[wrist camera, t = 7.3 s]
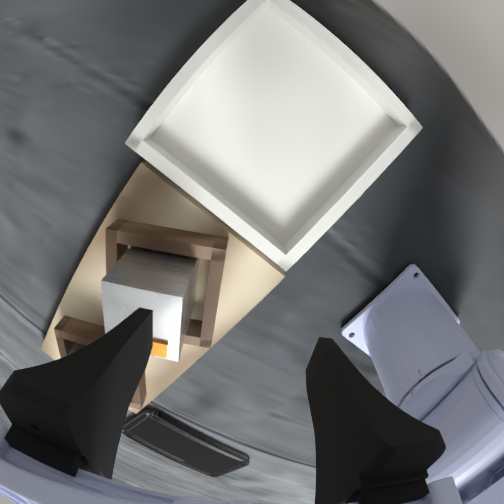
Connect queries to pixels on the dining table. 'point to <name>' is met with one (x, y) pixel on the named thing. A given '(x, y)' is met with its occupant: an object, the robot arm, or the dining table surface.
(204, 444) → the phone
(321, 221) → the white square tray
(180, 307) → the loose billet
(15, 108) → the dining table surface
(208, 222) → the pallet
